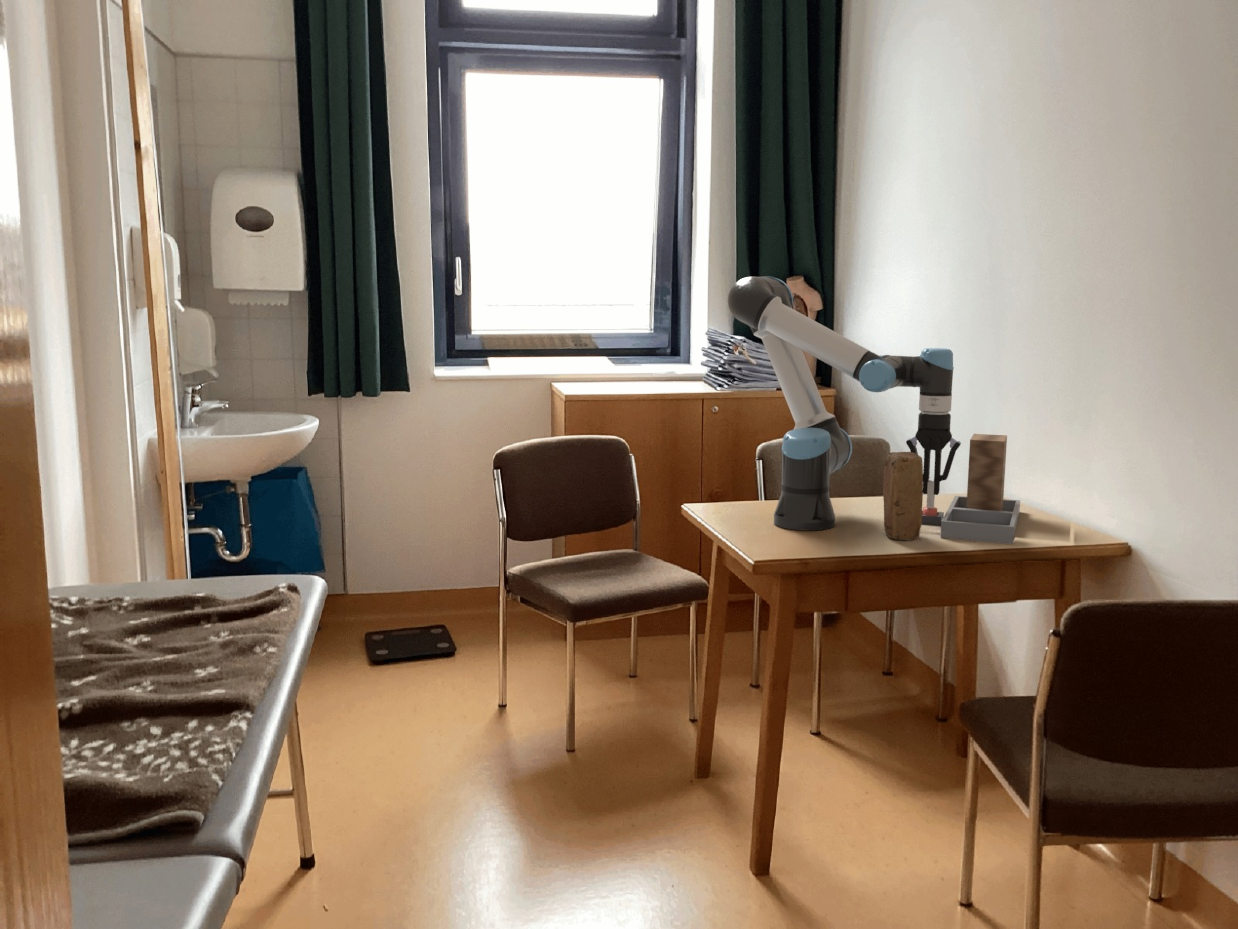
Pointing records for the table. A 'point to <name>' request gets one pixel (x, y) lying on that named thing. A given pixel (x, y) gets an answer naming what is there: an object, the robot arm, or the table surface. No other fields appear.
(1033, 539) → the table surface
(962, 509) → the gray divided tray
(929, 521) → the button housing
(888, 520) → the block
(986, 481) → the seated billet
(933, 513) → the button
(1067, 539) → the table surface
